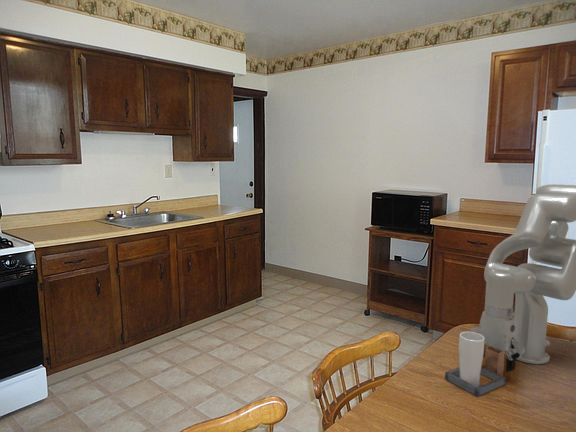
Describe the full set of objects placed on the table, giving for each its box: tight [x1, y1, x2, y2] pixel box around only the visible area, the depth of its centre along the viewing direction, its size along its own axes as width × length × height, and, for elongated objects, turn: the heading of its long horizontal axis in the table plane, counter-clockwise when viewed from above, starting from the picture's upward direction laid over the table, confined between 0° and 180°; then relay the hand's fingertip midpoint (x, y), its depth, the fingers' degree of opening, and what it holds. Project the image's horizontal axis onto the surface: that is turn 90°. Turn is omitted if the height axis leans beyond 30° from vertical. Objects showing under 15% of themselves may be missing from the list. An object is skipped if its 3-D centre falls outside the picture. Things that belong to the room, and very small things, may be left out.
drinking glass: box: [458, 331, 486, 387], centre depth 120 cm, size 7×7×15 cm
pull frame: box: [444, 346, 507, 397], centre depth 123 cm, size 17×11×8 cm, turn 119°
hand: (494, 364), depth 127 cm, fingers open, 9 cm apart
